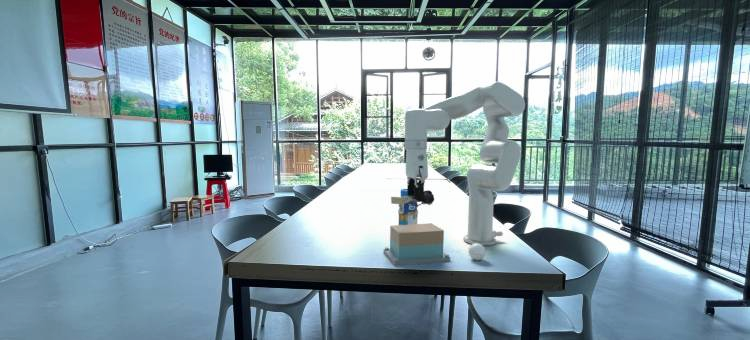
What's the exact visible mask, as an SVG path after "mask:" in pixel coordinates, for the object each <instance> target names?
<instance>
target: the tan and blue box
mask: <svg viewBox="0 0 750 340" xmlns="http://www.w3.org/2000/svg"><path fill="white" fill-rule="evenodd" d="M444 234H445V231H444V230H443V228H441V227H438V225H435V224H433V223H417V224H412V225H399V224H398V225H396V224H395V225H390V228H389V242H390V243H389V244H390V245H389V247H386V246H385V247H384V248H383V254H384V255H385V256H386V257H387V258H388V260H389V261H390V262H391V263H392V265H393V266H395V267H396V266H405V265H416V264H417V265H418V264H426V263H428V264H429V263H439V262H440V263H441V262H450V261H451V256H450V254H448V253H446V252H444V237H445V235H444Z"/></svg>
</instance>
